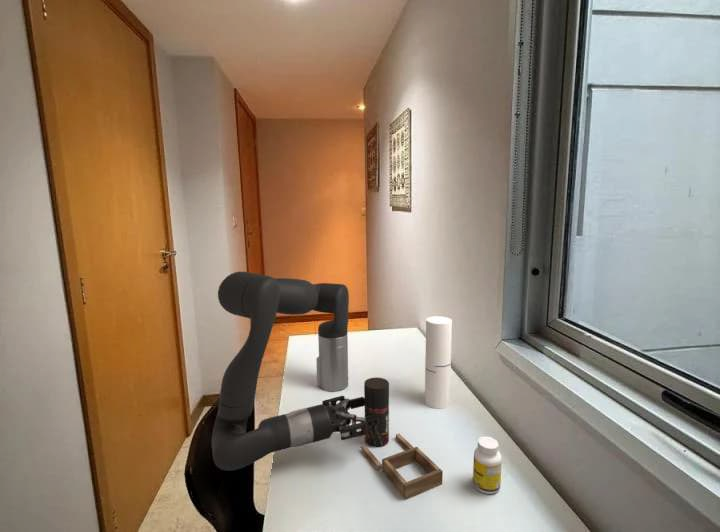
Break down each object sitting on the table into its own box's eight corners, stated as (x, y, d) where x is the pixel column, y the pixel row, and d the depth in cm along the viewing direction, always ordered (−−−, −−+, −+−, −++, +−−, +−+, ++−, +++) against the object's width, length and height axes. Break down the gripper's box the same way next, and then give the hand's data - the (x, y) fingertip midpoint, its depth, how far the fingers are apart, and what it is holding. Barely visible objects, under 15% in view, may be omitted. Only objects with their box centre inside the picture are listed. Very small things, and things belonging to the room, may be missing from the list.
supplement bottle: (468, 477, 81) (470, 434, 80) (493, 475, 82) (495, 433, 80) (478, 496, 76) (480, 451, 74) (505, 494, 76) (507, 449, 75)
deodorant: (387, 448, 91) (387, 389, 88) (363, 446, 92) (362, 387, 89) (389, 433, 97) (389, 378, 94) (366, 431, 98) (366, 376, 95)
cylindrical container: (449, 409, 107) (452, 324, 103) (424, 407, 109) (425, 323, 105) (449, 397, 114) (451, 316, 110) (425, 395, 116) (426, 315, 112)
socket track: (361, 450, 90) (361, 438, 90) (399, 437, 95) (399, 426, 94) (402, 501, 75) (402, 487, 74) (445, 482, 80) (445, 469, 79)
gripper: (316, 427, 79) (385, 409, 85) (297, 395, 92) (359, 382, 98) (317, 459, 80) (385, 439, 87) (299, 424, 93) (359, 409, 99)
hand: (371, 409), depth 92 cm, fingers open, 8 cm apart
